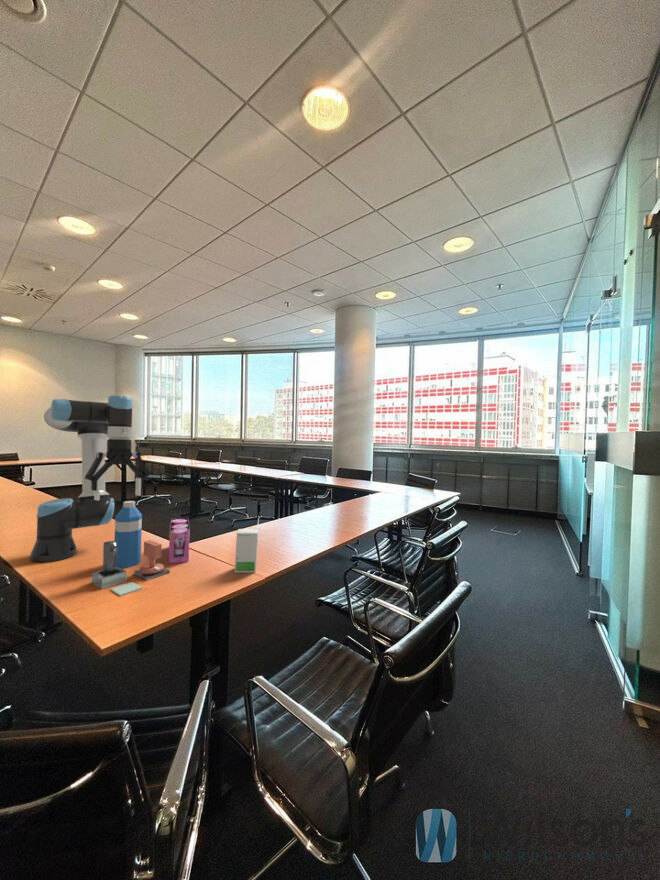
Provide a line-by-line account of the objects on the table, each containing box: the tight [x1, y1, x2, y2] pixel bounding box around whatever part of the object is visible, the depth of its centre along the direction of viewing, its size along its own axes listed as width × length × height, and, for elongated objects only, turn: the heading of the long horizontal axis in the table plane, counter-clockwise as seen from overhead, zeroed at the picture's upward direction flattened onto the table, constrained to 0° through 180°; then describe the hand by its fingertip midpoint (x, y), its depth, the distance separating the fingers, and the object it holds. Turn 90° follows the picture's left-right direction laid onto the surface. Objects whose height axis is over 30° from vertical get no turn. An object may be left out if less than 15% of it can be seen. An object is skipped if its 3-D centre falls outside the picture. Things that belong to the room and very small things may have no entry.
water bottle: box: [114, 500, 143, 569], centre depth 138 cm, size 9×9×25 cm
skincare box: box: [234, 528, 259, 574], centre depth 136 cm, size 8×7×16 cm
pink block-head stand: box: [139, 539, 165, 574], centre depth 130 cm, size 8×8×10 cm
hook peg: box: [102, 540, 117, 577], centre depth 121 cm, size 6×4×14 cm
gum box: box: [168, 516, 191, 564], centre depth 151 cm, size 24×8×14 cm, turn 23°
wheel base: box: [133, 567, 171, 581], centre depth 130 cm, size 9×9×1 cm
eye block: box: [91, 566, 128, 590], centre depth 121 cm, size 8×8×4 cm
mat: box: [110, 581, 143, 597], centre depth 116 cm, size 7×7×1 cm
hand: (118, 497), depth 124 cm, fingers open, 13 cm apart
